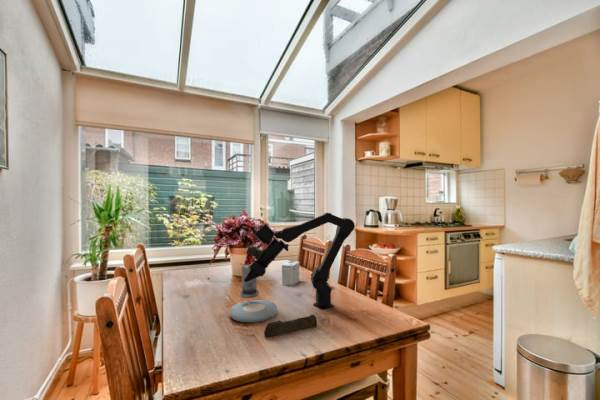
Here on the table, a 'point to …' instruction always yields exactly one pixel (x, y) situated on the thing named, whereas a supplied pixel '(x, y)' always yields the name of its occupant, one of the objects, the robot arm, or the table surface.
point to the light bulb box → (290, 273)
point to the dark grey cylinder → (248, 284)
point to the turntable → (253, 311)
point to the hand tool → (289, 326)
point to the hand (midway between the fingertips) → (245, 279)
